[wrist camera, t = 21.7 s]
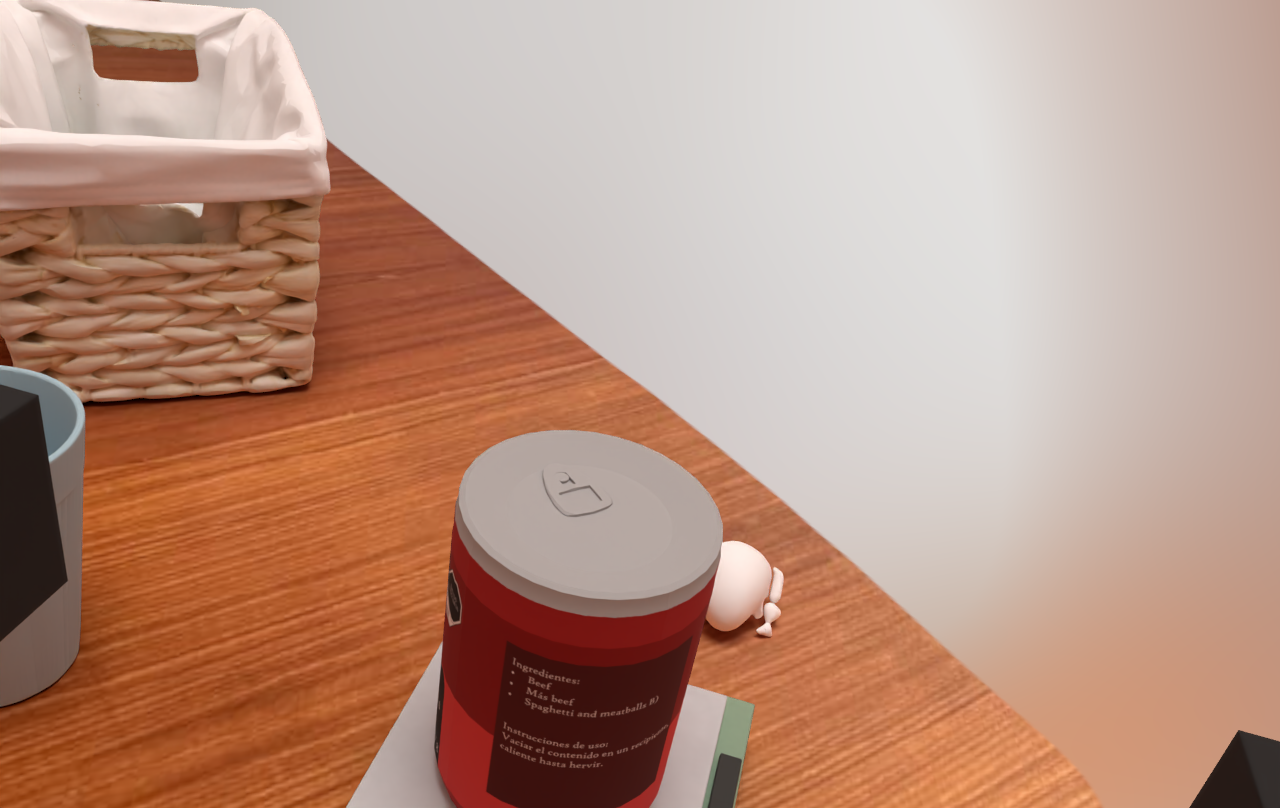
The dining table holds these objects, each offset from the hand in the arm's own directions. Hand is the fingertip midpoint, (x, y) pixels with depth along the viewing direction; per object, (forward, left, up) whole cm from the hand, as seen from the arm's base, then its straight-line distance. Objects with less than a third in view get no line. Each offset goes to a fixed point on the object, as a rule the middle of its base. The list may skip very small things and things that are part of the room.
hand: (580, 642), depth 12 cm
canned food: (+11, -12, -21) cm, 27 cm away
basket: (+52, -16, -24) cm, 59 cm away
